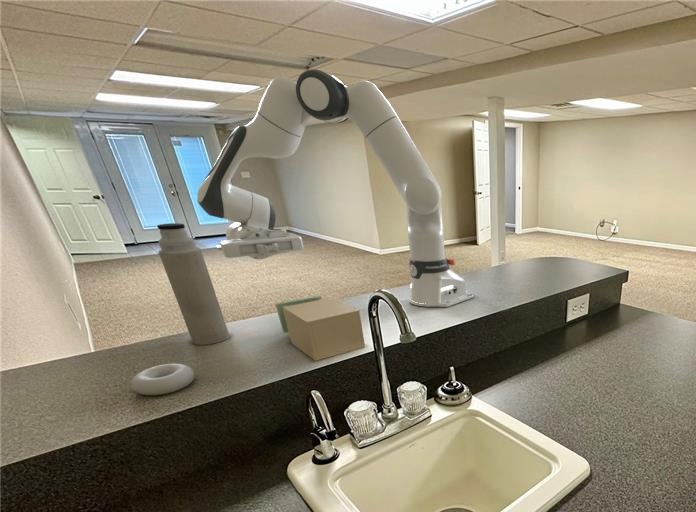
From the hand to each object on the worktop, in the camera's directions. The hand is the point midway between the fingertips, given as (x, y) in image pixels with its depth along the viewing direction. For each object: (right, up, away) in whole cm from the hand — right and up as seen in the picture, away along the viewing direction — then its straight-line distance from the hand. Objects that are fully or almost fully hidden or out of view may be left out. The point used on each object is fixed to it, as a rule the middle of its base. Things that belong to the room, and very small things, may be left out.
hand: (272, 249), depth 109 cm
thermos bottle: (-14, -25, -4) cm, 28 cm away
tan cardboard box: (+18, -26, -6) cm, 32 cm away
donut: (-6, -37, -26) cm, 46 cm away
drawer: (+11, -22, 0) cm, 24 cm away
